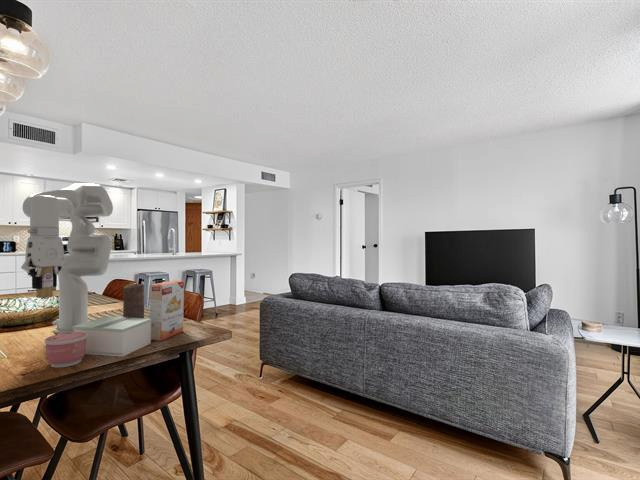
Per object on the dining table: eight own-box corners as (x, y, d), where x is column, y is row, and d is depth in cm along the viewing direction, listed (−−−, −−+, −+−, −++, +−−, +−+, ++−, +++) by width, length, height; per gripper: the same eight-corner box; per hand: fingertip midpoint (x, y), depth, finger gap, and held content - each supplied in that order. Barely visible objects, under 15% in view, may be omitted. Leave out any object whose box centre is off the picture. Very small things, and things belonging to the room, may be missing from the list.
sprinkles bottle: (43, 298, 112) (43, 257, 112) (32, 297, 113) (32, 256, 113) (56, 295, 117) (57, 256, 117) (45, 295, 118) (45, 256, 117)
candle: (140, 337, 131) (140, 285, 131) (119, 338, 130) (119, 285, 130) (146, 332, 139) (147, 283, 139) (127, 333, 138) (127, 283, 138)
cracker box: (162, 341, 127) (162, 285, 127) (147, 340, 128) (148, 284, 128) (184, 331, 141) (184, 280, 141) (171, 330, 142) (171, 280, 142)
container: (81, 354, 113) (81, 330, 113) (91, 362, 106) (91, 336, 106) (41, 363, 105) (41, 337, 105) (49, 372, 98) (49, 344, 98)
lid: (72, 329, 113) (72, 326, 113) (106, 318, 128) (106, 316, 128) (122, 332, 110) (122, 329, 110) (151, 321, 125) (151, 318, 125)
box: (73, 353, 114) (73, 329, 114) (106, 340, 128) (106, 319, 127) (122, 356, 111) (122, 331, 111) (150, 343, 125) (150, 321, 125)
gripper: (28, 232, 106) (28, 292, 106) (76, 233, 122) (76, 284, 122) (8, 232, 107) (8, 291, 107) (58, 233, 124) (58, 283, 124)
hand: (44, 287), depth 115 cm, fingers closed on sprinkles bottle, 4 cm apart
